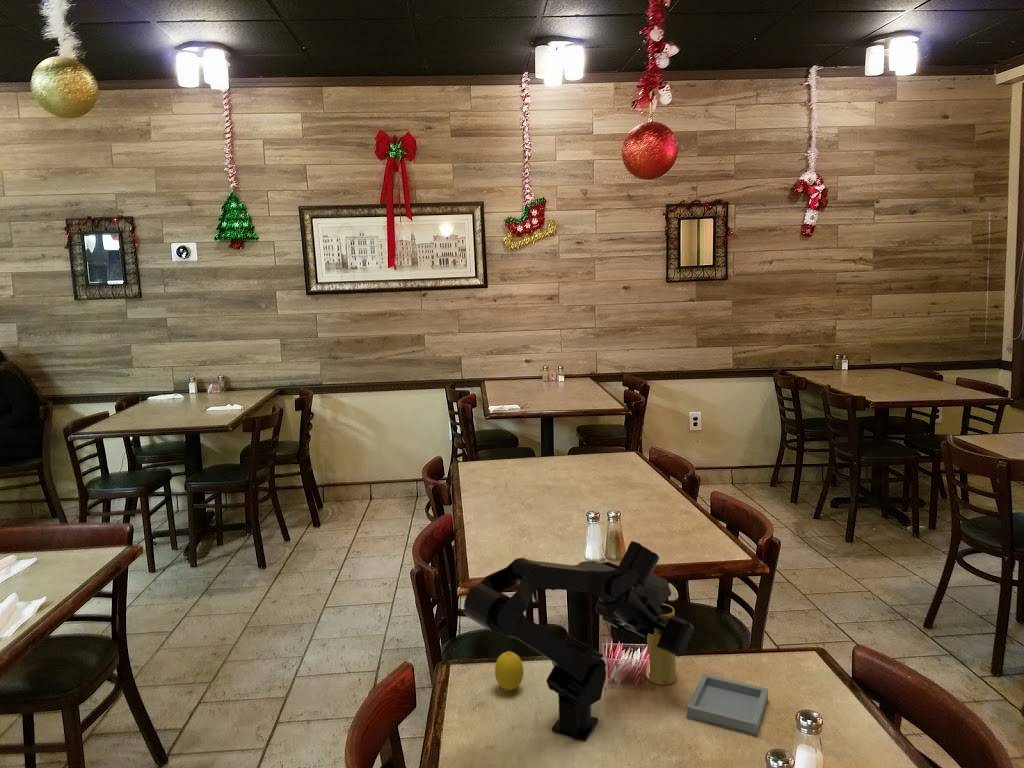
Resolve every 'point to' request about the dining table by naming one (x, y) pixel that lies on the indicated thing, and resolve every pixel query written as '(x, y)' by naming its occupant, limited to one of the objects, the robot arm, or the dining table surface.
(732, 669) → the dining table surface
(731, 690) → the tray
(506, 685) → the lemon
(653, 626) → the robot arm
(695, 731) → the dining table surface
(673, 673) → the vase
